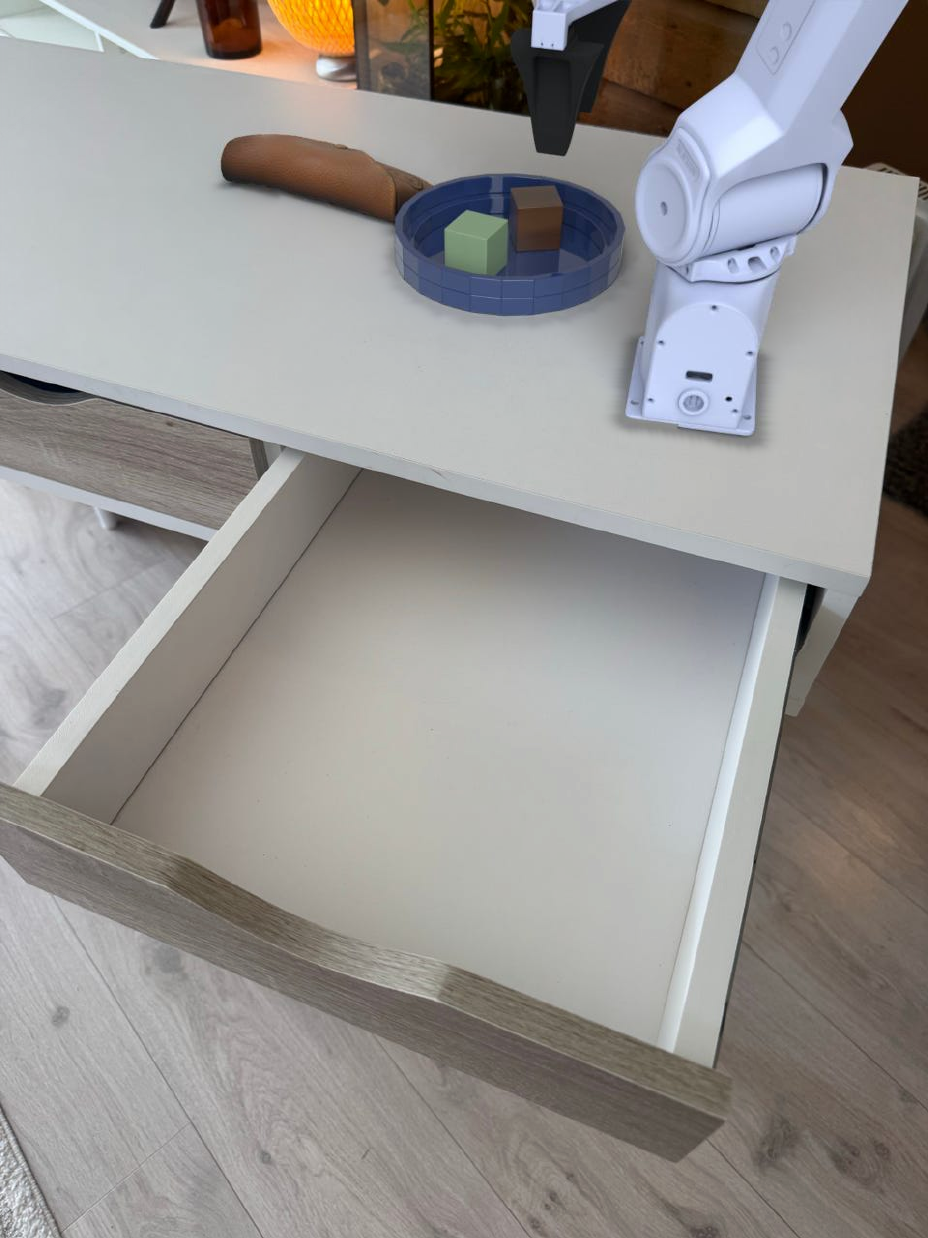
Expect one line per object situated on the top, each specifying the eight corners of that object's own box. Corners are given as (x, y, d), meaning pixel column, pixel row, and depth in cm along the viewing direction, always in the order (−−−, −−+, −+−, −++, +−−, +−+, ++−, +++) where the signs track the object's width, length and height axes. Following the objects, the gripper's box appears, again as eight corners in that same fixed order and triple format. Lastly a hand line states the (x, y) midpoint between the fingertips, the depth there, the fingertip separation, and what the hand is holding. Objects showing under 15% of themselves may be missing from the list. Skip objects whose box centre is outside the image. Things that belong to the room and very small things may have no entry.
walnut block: (560, 249, 73) (563, 205, 70) (515, 252, 73) (517, 207, 70) (551, 228, 75) (554, 184, 73) (508, 231, 75) (510, 187, 72)
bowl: (604, 334, 66) (609, 292, 63) (370, 306, 68) (366, 264, 66) (630, 223, 77) (635, 184, 75) (428, 202, 79) (426, 163, 77)
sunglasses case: (449, 187, 80) (426, 131, 74) (414, 258, 79) (389, 207, 73) (279, 146, 86) (244, 90, 80) (245, 211, 85) (208, 160, 79)
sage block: (486, 285, 69) (487, 239, 67) (444, 274, 70) (444, 228, 68) (506, 264, 71) (508, 219, 69) (466, 253, 72) (466, 209, 70)
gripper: (549, -142, 61) (536, 86, 71) (484, -87, 52) (480, 164, 62) (657, -134, 59) (628, 97, 70) (610, -76, 50) (584, 179, 60)
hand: (565, 130), depth 66 cm, fingers open, 7 cm apart
